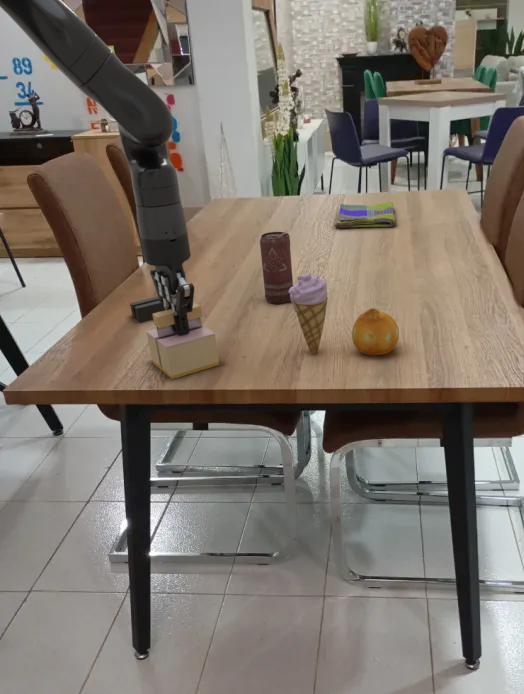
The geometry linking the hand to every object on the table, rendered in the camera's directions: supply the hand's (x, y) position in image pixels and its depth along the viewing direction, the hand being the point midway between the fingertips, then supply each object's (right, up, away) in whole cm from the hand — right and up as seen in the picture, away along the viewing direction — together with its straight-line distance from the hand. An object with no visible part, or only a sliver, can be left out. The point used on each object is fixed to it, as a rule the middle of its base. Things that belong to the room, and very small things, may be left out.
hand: (180, 331), depth 119 cm
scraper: (0, -4, +3) cm, 5 cm away
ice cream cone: (+23, -3, +5) cm, 23 cm away
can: (+16, +11, +30) cm, 35 cm away
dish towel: (+38, +45, +88) cm, 106 cm away
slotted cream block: (0, -5, +3) cm, 6 cm away
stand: (-10, +7, +26) cm, 29 cm away
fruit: (+34, -3, +3) cm, 34 cm away
